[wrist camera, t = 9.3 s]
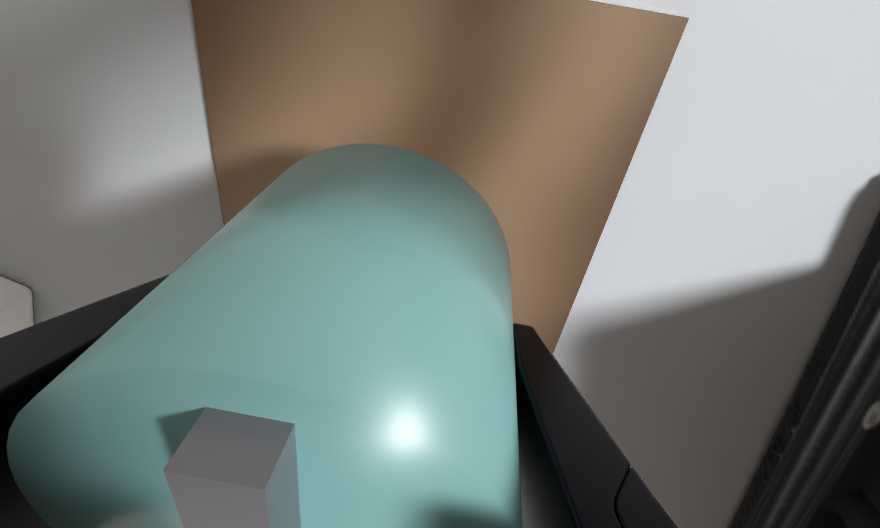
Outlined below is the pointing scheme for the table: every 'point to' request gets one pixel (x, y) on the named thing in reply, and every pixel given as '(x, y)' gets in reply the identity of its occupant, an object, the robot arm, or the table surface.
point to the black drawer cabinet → (830, 423)
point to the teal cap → (300, 369)
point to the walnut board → (448, 108)
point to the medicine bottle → (14, 307)
